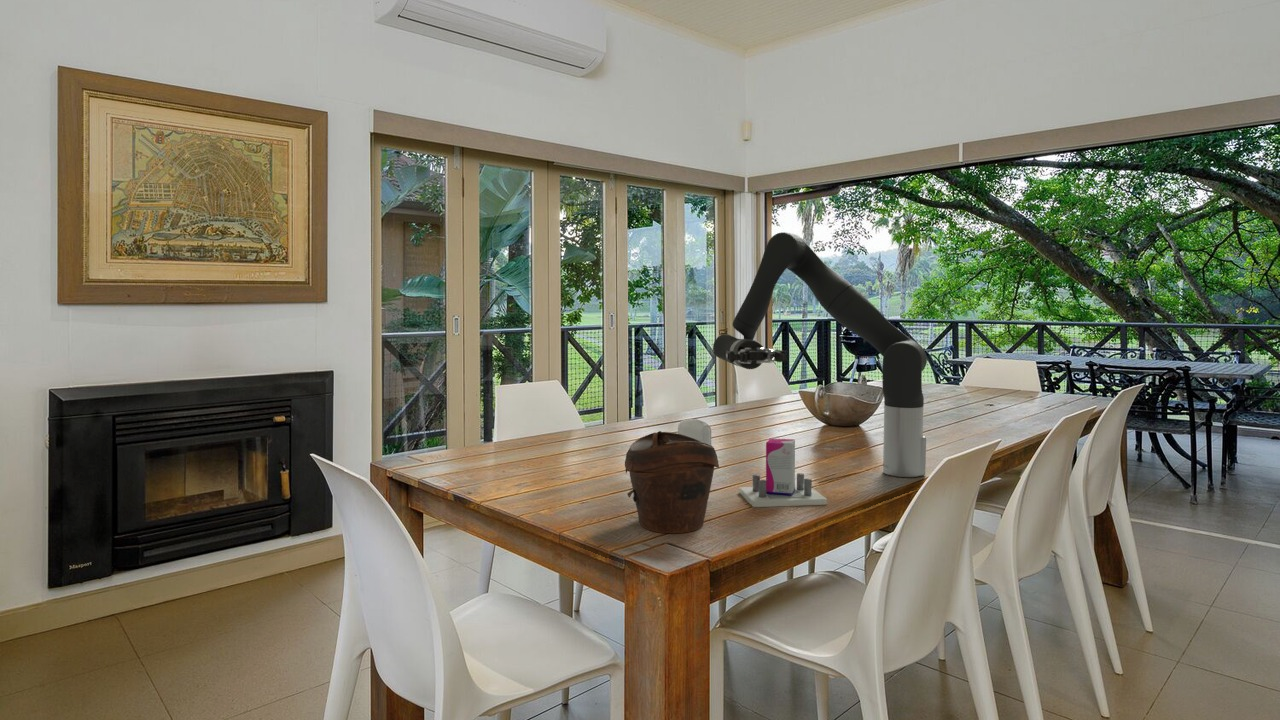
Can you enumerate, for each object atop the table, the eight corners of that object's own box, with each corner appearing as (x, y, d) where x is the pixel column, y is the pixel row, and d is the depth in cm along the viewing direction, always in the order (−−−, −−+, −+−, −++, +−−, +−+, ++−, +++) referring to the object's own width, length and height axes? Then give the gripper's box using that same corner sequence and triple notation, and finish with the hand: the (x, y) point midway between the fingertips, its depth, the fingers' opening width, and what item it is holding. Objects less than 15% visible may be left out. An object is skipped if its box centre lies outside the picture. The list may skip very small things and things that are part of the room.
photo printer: (675, 463, 195) (675, 418, 194) (687, 461, 198) (687, 416, 197) (702, 470, 187) (702, 422, 186) (714, 467, 190) (714, 420, 189)
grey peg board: (807, 490, 166) (808, 470, 165) (826, 504, 154) (827, 482, 154) (739, 492, 164) (739, 472, 164) (753, 507, 152) (753, 485, 152)
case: (658, 503, 155) (657, 421, 153) (738, 521, 142) (738, 431, 140) (601, 525, 141) (600, 434, 139) (685, 547, 128) (684, 447, 127)
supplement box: (795, 489, 161) (795, 438, 160) (792, 496, 155) (792, 443, 154) (769, 487, 163) (769, 437, 162) (765, 494, 157) (765, 442, 156)
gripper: (719, 339, 187) (734, 342, 171) (773, 338, 188) (793, 341, 172) (719, 368, 187) (734, 374, 171) (773, 367, 189) (792, 373, 173)
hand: (763, 357), depth 172 cm, fingers open, 8 cm apart
